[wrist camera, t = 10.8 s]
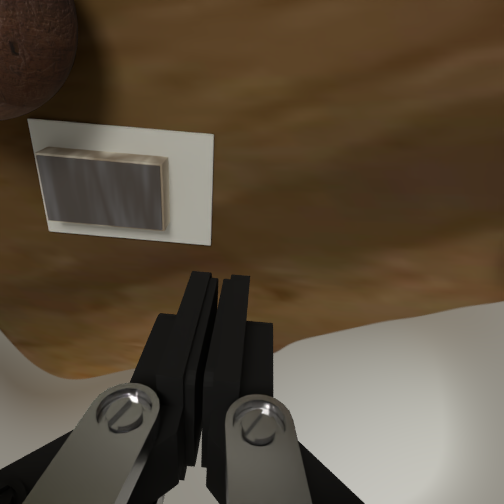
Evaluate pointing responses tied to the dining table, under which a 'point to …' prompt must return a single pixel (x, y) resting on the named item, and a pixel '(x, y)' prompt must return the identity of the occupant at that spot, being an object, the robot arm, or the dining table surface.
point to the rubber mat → (144, 143)
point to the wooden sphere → (34, 52)
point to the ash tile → (105, 188)
